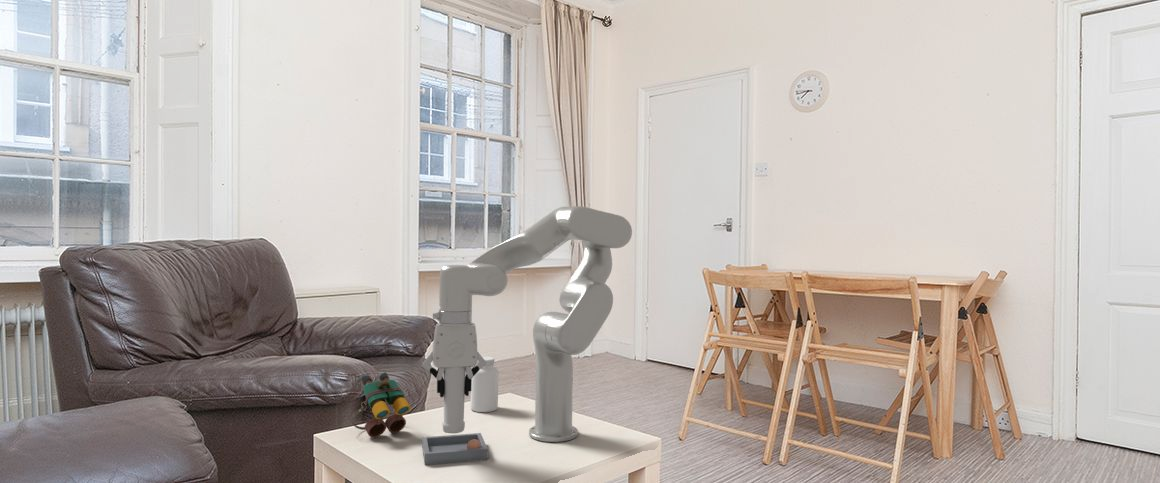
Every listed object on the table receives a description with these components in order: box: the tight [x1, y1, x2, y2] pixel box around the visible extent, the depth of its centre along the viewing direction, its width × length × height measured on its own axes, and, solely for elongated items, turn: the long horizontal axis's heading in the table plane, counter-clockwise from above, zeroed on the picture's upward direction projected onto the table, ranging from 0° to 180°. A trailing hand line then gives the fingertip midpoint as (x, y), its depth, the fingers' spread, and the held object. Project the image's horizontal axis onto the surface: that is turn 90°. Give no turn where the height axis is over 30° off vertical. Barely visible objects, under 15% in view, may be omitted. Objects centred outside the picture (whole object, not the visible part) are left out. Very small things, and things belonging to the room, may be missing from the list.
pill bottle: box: [470, 356, 499, 413], centre depth 191 cm, size 8×8×15 cm
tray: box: [421, 432, 489, 466], centre depth 153 cm, size 12×14×2 cm
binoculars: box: [350, 372, 411, 438], centre depth 169 cm, size 14×14×15 cm
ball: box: [467, 439, 481, 449], centre depth 151 cm, size 3×3×3 cm
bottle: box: [442, 326, 466, 434], centre depth 153 cm, size 5×5×25 cm
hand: (454, 394), depth 153 cm, fingers closed on bottle, 5 cm apart
